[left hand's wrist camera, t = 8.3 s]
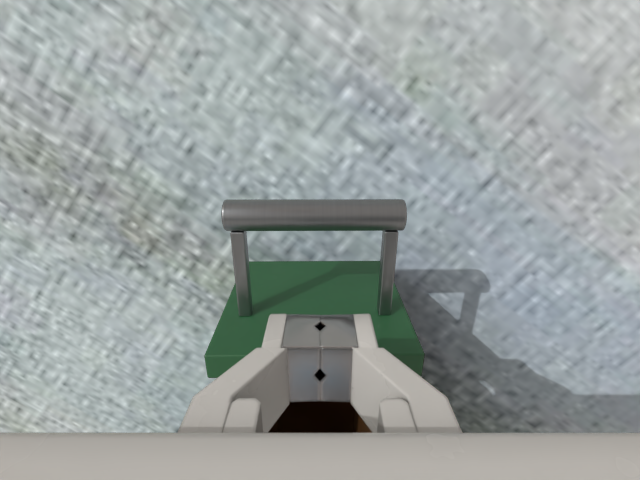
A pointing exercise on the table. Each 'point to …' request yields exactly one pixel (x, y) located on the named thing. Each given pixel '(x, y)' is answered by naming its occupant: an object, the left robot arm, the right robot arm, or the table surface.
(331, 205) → the drawer
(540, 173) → the table surface
